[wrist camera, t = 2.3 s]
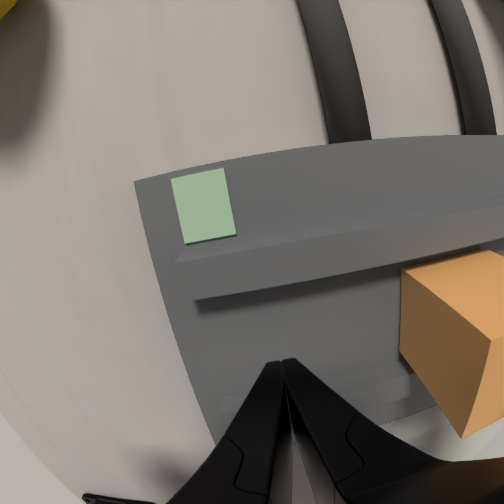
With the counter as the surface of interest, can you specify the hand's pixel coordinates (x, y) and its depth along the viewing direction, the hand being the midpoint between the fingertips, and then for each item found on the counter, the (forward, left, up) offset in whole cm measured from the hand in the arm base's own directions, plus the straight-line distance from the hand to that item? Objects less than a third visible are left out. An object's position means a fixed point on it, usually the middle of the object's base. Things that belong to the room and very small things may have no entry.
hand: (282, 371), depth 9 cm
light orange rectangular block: (0, -7, -2) cm, 7 cm away
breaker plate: (0, -7, -3) cm, 7 cm away
